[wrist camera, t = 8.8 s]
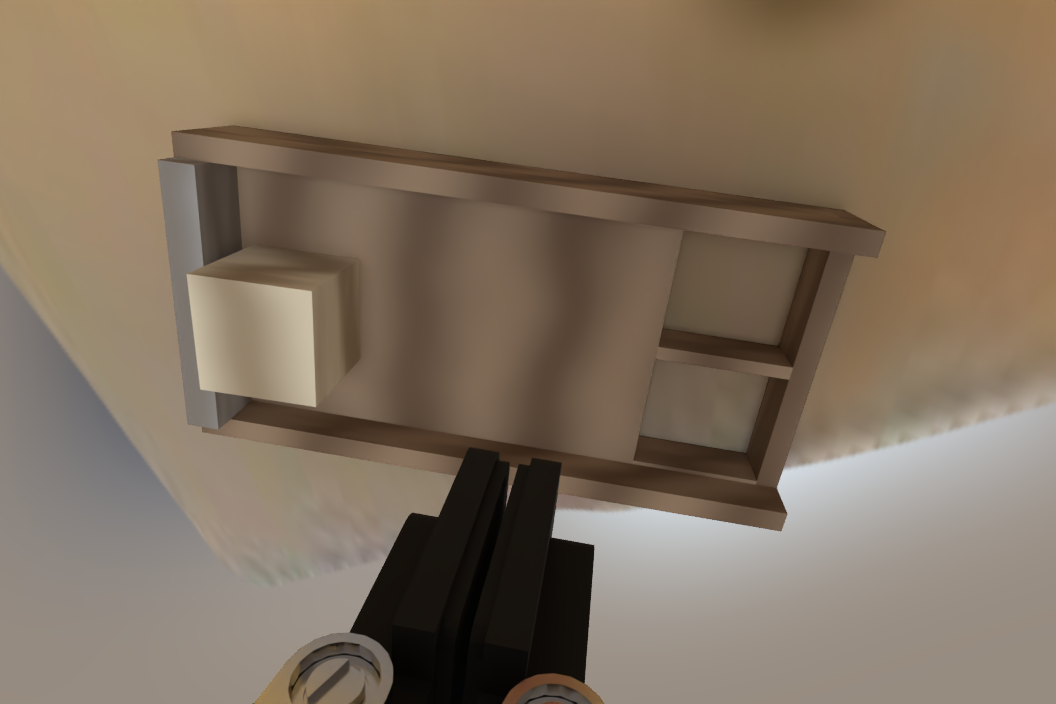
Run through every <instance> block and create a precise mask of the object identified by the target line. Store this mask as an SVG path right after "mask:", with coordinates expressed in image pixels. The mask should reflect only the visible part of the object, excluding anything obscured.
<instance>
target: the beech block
mask: <svg viewBox="0 0 1056 704" xmlns="http://www.w3.org/2000/svg"><path fill="white" fill-rule="evenodd" d="M187 282H188V291H189V299H190V307H191V316H192V324H193V333H194V341H195V350H196V358H197V367H198V375H199V383H200V389H201V390H207V391H214V392H220V393H227V394H233V395H240V396H246V397H253V398H260V399H266V400H273V401H279V402H286V403H292V404H299V405H305V406H312V407H317V406H318V404H319V403H320V402H321V401H322V400H323V399H324V398H325V397H326V396H327V395H328V394H329V393H330V391H331V390H332V389H333V388H334V387H335V386H336V385H337V384H338V383H339V382H340V381H341V380H342V378H343V377H344V376H345V375H346V374H347V373H348V372H349V371H350V370H351V369H352V368H353V367H354V366H355V364H356V363H357V362H358V361H359V360H360V259H359V258H351V257H344V256H336V255H329V254H322V253H314V252H307V251H299V250H292V249H284V248H277V247H270V246H262V245H255V244H254V245H252V246H249V247H247V248H245V249H243V250H240V251H238V252H236V253H233V254H231V255H229V256H226V257H224V258H222V259H220V260H217V261H215V262H213V263H210V264H208V265H206V266H203V267H201V268H199V269H197V270H194V271H192V272H190V273H187Z"/></svg>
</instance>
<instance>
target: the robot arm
mask: <svg viewBox="0 0 1056 704" xmlns="http://www.w3.org/2000/svg"><path fill="white" fill-rule="evenodd" d="M561 467H562V462H556V461H550V460H544V459H538V458H532V459H531V463H530V465H524V464H519V465H518V468H517V471H516V475H515V478H514V482H513V485H512V489H511V492H510V496H509V499H508V503H507V506H506V500H507V491H508V481H509V471H510V462H507V461H501V460H500V453H499V452H496V451H490V450H484V449H478V448H472V447H469V448H468V450H467V452H466V455H465V457H464V459H463V462H462V464H461V466H460V469H459V471H458V473H457V476H456V478H455V480H454V482H453V485H452V487H451V489H450V492H449V494H448V496H447V499H446V501H445V503H444V505H443V508H442V510H441V512H440V515H439V517H434V516H428V515H423V514H417V513H411V514H410V515H409V516H408V518H407V520H406V521H405V523H404V525H403V527H402V529H401V531H400V533H399V535H398V537H397V539H396V541H395V543H394V545H393V547H392V549H391V551H390V553H389V555H388V557H387V559H386V561H385V563H384V565H383V567H382V569H381V571H380V573H379V575H378V577H377V579H376V581H375V583H374V585H373V587H372V589H371V591H370V593H369V595H368V597H367V599H366V601H365V603H364V605H363V607H362V609H361V611H360V613H359V615H358V617H357V619H356V621H355V623H354V625H353V627H352V629H351V631H350V633H336V634H330V635H327V636H324V637H321V638H318V639H315V640H313V641H312V642H310V643H308V644H307V645H305V646H303V647H302V648H300V649H299V650H298V651H297V652H296V653H295V654H294V655H293V656H292V657H291V658H290V659H289V660H288V661H287V662H286V663H285V664H284V666H283V667H282V669H280V671H279V672H278V673H277V675H276V676H275V677H274V679H273V680H272V681H271V682H270V684H269V685H268V686H267V687H266V689H265V690H264V691H263V693H262V694H261V695H260V696H259V698H258V699H257V700H256V701H255V703H253V704H604V702H603V701H602V699H601V698H600V696H598V695H597V694H596V693H595V692H594V691H593V690H592V689H591V688H590V687H588V686H587V685H586V684H584V683H585V669H586V656H587V642H588V628H589V615H590V601H591V588H592V575H593V561H594V545H590V544H585V543H579V542H573V541H568V540H562V539H557V538H551V537H552V530H553V523H554V515H555V509H556V502H557V495H558V488H559V481H560V474H561Z"/></svg>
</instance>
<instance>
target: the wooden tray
mask: <svg viewBox="0 0 1056 704" xmlns="http://www.w3.org/2000/svg"><path fill="white" fill-rule="evenodd" d="M171 133H172V142H173V152H174V157H173V158H166V159H160V160H158V166H159V175H160V184H161V193H162V202H163V210H164V219H165V228H166V237H167V246H168V254H169V263H170V272H171V281H172V290H173V298H174V307H175V316H176V325H177V334H178V342H179V351H180V360H181V369H182V378H183V386H184V395H185V404H186V413H187V422H188V424H189V425H194V426H200V427H202V432H205V433H211V434H217V435H223V436H229V437H234V438H240V439H246V440H252V441H258V442H264V443H269V444H275V445H281V446H287V447H293V448H299V449H304V450H310V451H316V452H322V453H328V454H333V455H339V456H345V457H351V458H357V459H363V460H368V461H374V462H380V463H386V464H392V465H398V466H403V467H409V468H415V469H421V470H427V471H433V472H438V473H444V474H450V475H456V476H457V473H458V471H459V469H460V466H461V464H462V462H463V459H464V457H465V455H466V452H467V450H468V448H469V447H472V448H478V449H484V450H490V451H496V452H499V453H500V460H501V461H507V462H510V471H509V481H508V485H513V482H514V478H515V475H516V471H517V468H518V465H519V464H524V465H530V463H531V459H532V458H538V459H544V460H550V461H556V462H562V467H561V474H560V481H559V488H558V493H561V494H567V495H572V496H578V497H584V498H590V499H596V500H601V501H607V502H613V503H619V504H625V505H631V506H636V507H642V508H648V509H654V510H660V511H666V512H672V513H678V514H683V515H689V516H695V517H701V518H706V519H712V520H719V521H724V522H731V523H736V524H741V525H748V526H753V527H759V528H765V529H770V530H777V531H782V528H783V525H784V522H785V519H786V516H787V512H786V510H785V507H784V505H783V502H782V500H781V498H780V495H779V493H778V490H777V485H778V482H779V479H780V476H781V474H782V471H783V468H784V465H785V462H786V459H787V456H788V453H789V450H790V447H791V444H792V441H793V438H794V435H795V432H796V429H797V426H798V423H799V420H800V417H801V414H802V411H803V408H804V405H805V402H806V399H807V396H808V393H809V390H810V387H811V384H812V381H813V378H814V375H815V372H816V369H817V366H818V363H819V360H820V357H821V354H822V351H823V348H824V345H825V342H826V339H827V337H828V334H829V331H830V328H831V325H832V322H833V319H834V316H835V313H836V310H837V307H838V304H839V301H840V298H841V295H842V292H843V289H844V286H845V283H846V280H847V277H848V274H849V271H850V268H851V265H852V262H853V259H854V256H855V255H861V256H868V257H875V258H877V257H878V254H879V251H880V249H881V246H882V243H883V240H884V237H885V234H886V231H884V230H882V229H880V228H878V227H876V226H874V225H872V224H870V223H868V222H866V221H864V220H862V219H860V218H858V217H856V216H855V215H853V214H851V213H849V212H847V211H845V210H838V209H831V208H824V207H816V206H809V205H802V204H795V203H788V202H780V201H773V200H766V199H759V198H752V197H744V196H737V195H730V194H723V193H715V192H708V191H701V190H694V189H687V188H679V187H672V186H665V185H658V184H651V183H643V182H636V181H629V180H622V179H615V178H607V177H600V176H593V175H586V174H579V173H571V172H564V171H557V170H550V169H543V168H535V167H528V166H521V165H514V164H507V163H499V162H492V161H485V160H478V159H471V158H463V157H456V156H449V155H442V154H435V153H427V152H420V151H413V150H406V149H399V148H391V147H384V146H377V145H370V144H362V143H355V142H348V141H341V140H334V139H326V138H319V137H312V136H305V135H298V134H290V133H283V132H276V131H269V130H262V129H254V128H247V127H240V126H224V127H213V128H202V129H192V130H181V131H171ZM684 230H686V231H693V232H700V233H707V234H714V235H721V236H728V237H735V238H742V239H749V240H756V241H763V242H770V243H777V244H784V245H791V246H798V247H805V248H809V250H808V253H807V256H806V260H805V263H804V266H803V269H802V273H801V276H800V279H799V283H798V286H797V289H796V292H795V296H794V299H793V302H792V306H791V309H790V312H789V315H788V319H787V322H786V325H785V329H784V332H783V335H782V338H781V342H780V345H779V347H778V346H772V345H765V344H759V343H752V342H746V341H739V340H733V339H726V338H719V337H713V336H706V335H700V334H693V333H687V332H680V331H674V330H667V329H662V328H663V323H664V319H665V314H666V310H667V305H668V301H669V296H670V291H671V287H672V282H673V278H674V273H675V269H676V264H677V260H678V255H679V251H680V246H681V242H682V237H683V232H684ZM254 244H255V245H262V246H270V247H277V248H284V249H292V250H299V251H307V252H314V253H322V254H329V255H336V256H344V257H351V258H359V259H360V360H359V361H358V362H357V363H356V364H355V366H354V367H353V368H352V369H351V370H350V371H349V372H348V373H347V374H346V375H345V376H344V377H343V378H342V380H341V381H340V382H339V383H338V384H337V385H336V386H335V387H334V388H333V389H332V390H331V391H330V393H329V394H328V395H327V396H326V397H325V398H324V399H323V400H322V401H321V402H320V403H319V404H318V406H317V407H312V406H305V405H299V404H292V403H286V402H279V401H273V400H266V399H260V398H253V397H246V396H240V395H233V394H227V393H220V392H214V391H207V390H201V389H200V383H199V375H198V367H197V358H196V350H195V341H194V333H193V324H192V316H191V307H190V299H189V291H188V282H187V273H190V272H192V271H194V270H197V269H199V268H201V267H203V266H206V265H208V264H210V263H213V262H215V261H217V260H220V259H222V258H224V257H226V256H229V255H231V254H233V253H236V252H238V251H240V250H243V249H245V248H247V247H249V246H252V245H254ZM656 359H659V360H666V361H672V362H679V363H685V364H691V365H698V366H704V367H711V368H717V369H723V370H730V371H736V372H742V373H749V374H755V375H762V376H768V377H770V378H769V381H768V384H767V388H766V391H765V394H764V398H763V401H762V404H761V407H760V411H759V414H758V417H757V421H756V424H755V427H754V431H753V434H752V437H751V440H750V444H749V447H748V450H747V454H745V453H739V452H733V451H727V450H721V449H715V448H709V447H703V446H697V445H691V444H684V443H678V442H672V441H666V440H660V439H654V438H648V437H642V436H639V432H640V428H641V423H642V419H643V414H644V410H645V405H646V400H647V396H648V391H649V387H650V382H651V378H652V373H653V369H654V364H655V360H656Z"/></svg>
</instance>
